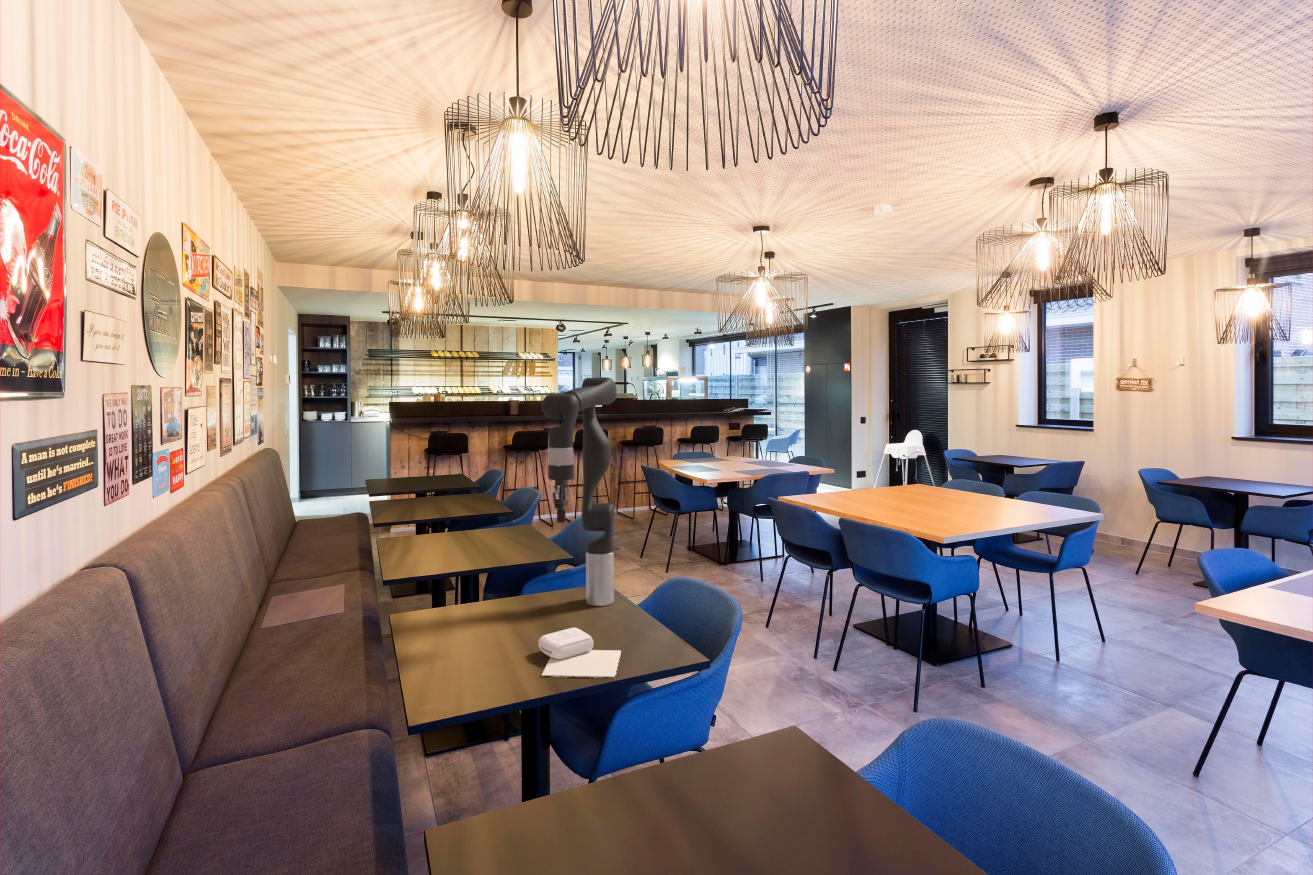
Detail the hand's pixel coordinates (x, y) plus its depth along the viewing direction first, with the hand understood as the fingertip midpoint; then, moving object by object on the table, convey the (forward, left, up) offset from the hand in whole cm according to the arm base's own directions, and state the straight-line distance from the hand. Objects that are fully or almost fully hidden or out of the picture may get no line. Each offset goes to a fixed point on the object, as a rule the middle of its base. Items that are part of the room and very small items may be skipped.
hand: (561, 521), depth 184 cm
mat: (+24, +10, -32) cm, 41 cm away
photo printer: (+13, +9, -29) cm, 33 cm away
